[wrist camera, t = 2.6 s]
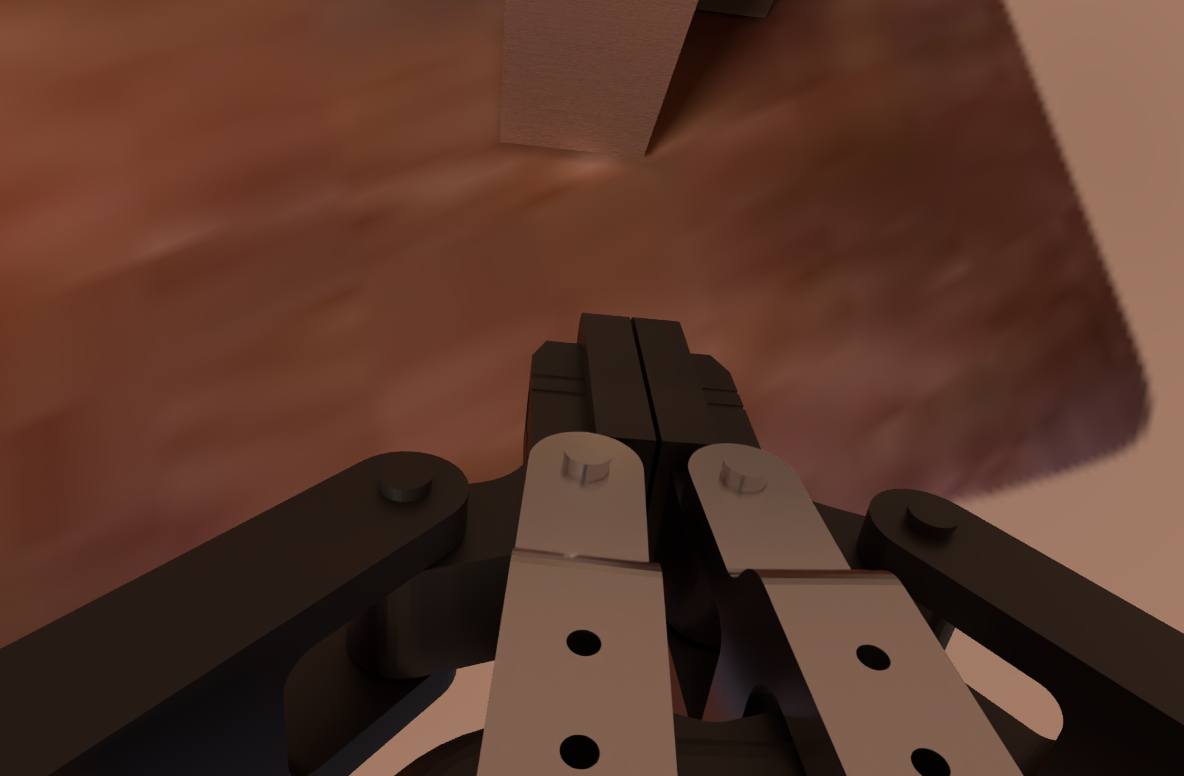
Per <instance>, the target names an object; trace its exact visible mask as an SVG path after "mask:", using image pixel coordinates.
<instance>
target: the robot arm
mask: <svg viewBox="0 0 1184 776" xmlns="http://www.w3.org/2000/svg"><path fill="white" fill-rule="evenodd" d="M955 627H956V628H957V629H959V630H960V631H962V632H963V633H965V634H966V635H968V636H969V637H971V638H972V639H974V640H975V641H977V642H978V643H980V644H981V645H983V646H984V647H986V648H987V649H989V650H990V651H992V652H993V653H995V654H996V655H998V656H999V657H1001V658H1002V659H1004V660H1005V661H1007V662H1008V663H1010V664H1011V665H1013V666H1014V667H1016V668H1017V669H1019V670H1020V671H1022V672H1023V673H1025V674H1026V675H1028V676H1029V677H1031V678H1032V679H1034V680H1035V681H1037V682H1038V683H1040V684H1041V685H1042V686H1044V687H1045V688H1046V689H1047V690H1048V691H1049V692H1050V693H1051V694H1052V695H1053V696H1054V698H1055V699H1056V701H1057V702H1058V704H1059V706H1060V708H1061V711H1062V715H1063V728H1062V730H1061V733H1060V734H1059V736H1058V738H1057V739H1056V740H1051V739H1048V738H1045V737H1043V736H1040V735H1039V734H1037V733H1035V732H1034V731H1032V730H1031V729H1029V728H1028V727H1027V726H1025V725H1024V724H1023V723H1021V722H1019V721H1018V720H1017V719H1015V718H1014V717H1013V716H1011V715H1010V714H1008V713H1007V712H1005V711H1004V710H1003V709H1001V708H1000V707H998V706H997V705H996V704H994V703H993V702H991V701H990V700H988V699H987V698H986V697H984V696H983V695H981V694H980V693H978V692H977V691H975V690H974V689H973V688H971V687H970V686H969V685H967V684H966V683H965V682H964V681H963V679H962V678H961V676H960V675H959V673H958V672H957V670H956V668H955V667H954V665H953V664H952V662H951V660H950V659H949V657H948V656H947V654H946V652H945V649H946V647H947V645H948V642H949V640H950V638H951V636H952V633H953V631H954V629H955ZM494 660H495V663H494V669H493V676H492V682H491V689H490V696H489V701H488V708H487V714H486V721H485V727H484V729H481V730H478V731H475V732H472V733H468V734H465V735H462V736H460V737H457V738H455V739H453V740H451V741H449V742H446V743H444V744H441V745H439V746H438V747H436V748H434V749H433V750H431V751H429V752H427V753H426V754H424V755H422V756H421V757H419V758H417V759H416V760H415V761H413V762H412V763H410V764H409V765H408V766H406V767H405V768H404V769H402V770H401V771H400V772H398V773H397V774H396V775H395V776H1184V634H1183V633H1181V632H1180V631H1178V630H1176V629H1174V628H1173V627H1171V626H1169V625H1167V624H1165V623H1164V622H1162V621H1160V620H1158V619H1157V618H1155V617H1153V616H1151V615H1149V614H1148V613H1146V612H1144V611H1143V610H1141V609H1139V608H1137V607H1136V606H1134V605H1132V604H1130V603H1129V602H1127V601H1125V600H1123V599H1122V598H1120V597H1118V596H1116V595H1115V594H1112V593H1111V592H1109V591H1107V590H1106V589H1104V588H1102V587H1101V586H1099V585H1097V584H1095V583H1093V582H1092V581H1090V580H1088V579H1086V578H1085V577H1083V576H1081V575H1079V574H1078V573H1076V572H1074V571H1072V570H1071V569H1069V568H1067V567H1065V566H1064V565H1062V564H1060V563H1058V562H1056V561H1055V560H1053V559H1051V558H1050V557H1048V556H1046V555H1044V554H1043V553H1041V552H1039V551H1037V550H1036V549H1034V548H1032V547H1030V546H1028V545H1027V544H1025V543H1023V542H1021V541H1020V540H1018V539H1016V538H1014V537H1013V536H1011V535H1009V534H1007V533H1006V532H1004V531H1002V530H1000V529H999V528H997V527H995V526H993V525H992V524H990V523H988V522H986V521H985V520H983V519H981V518H979V517H978V516H976V515H974V514H972V513H971V512H969V511H967V510H965V509H964V508H962V507H960V506H958V505H956V504H954V503H953V502H951V501H949V500H946V499H944V498H942V497H939V496H936V495H933V494H930V493H926V492H922V491H918V490H911V489H892V490H887V491H884V492H881V493H879V494H877V495H876V496H875V497H874V498H873V499H872V500H871V502H870V505H869V508H868V511H867V513H866V516H862V515H858V514H855V513H851V512H847V511H844V510H840V509H836V508H833V507H829V506H826V505H822V504H819V503H816V502H814V501H812V500H811V498H810V497H809V495H808V493H807V491H806V490H805V488H804V486H803V484H802V483H801V481H800V479H799V477H798V476H797V474H796V473H795V472H794V470H793V469H792V468H791V467H790V466H789V465H788V464H786V463H785V462H784V461H783V460H781V459H779V458H778V457H776V456H774V455H772V454H770V453H768V452H766V451H763V450H761V448H760V446H759V443H758V441H757V438H756V436H755V433H754V431H753V428H752V426H751V423H750V421H749V418H748V416H747V414H746V411H745V410H743V404H742V401H741V399H740V396H739V394H737V389H736V386H735V384H734V381H733V379H732V377H731V374H730V372H729V371H728V370H727V369H725V368H724V367H723V366H722V365H721V364H720V363H718V362H717V361H716V360H715V359H714V358H713V357H712V356H710V355H703V354H691V353H690V351H689V348H688V345H687V342H686V339H685V336H684V333H683V330H682V327H681V325H680V323H679V322H677V321H667V320H656V319H645V318H634V317H632V318H631V320H630V318H629V317H622V316H611V315H600V314H589V313H582V315H581V318H580V324H579V330H578V338H577V344H576V343H565V342H554V341H546V342H545V343H544V344H543V345H542V346H541V347H540V348H539V349H538V350H537V351H536V352H535V353H534V354H533V355H532V363H531V373H530V383H529V393H528V402H527V412H526V422H525V432H524V446H523V465H522V466H521V467H520V468H518V469H517V470H516V471H514V472H512V473H511V474H508V475H506V476H504V477H501V478H498V479H495V480H491V481H486V482H480V483H473V484H468V481H467V478H466V476H465V475H464V474H463V472H462V471H461V470H460V469H459V468H458V467H457V466H455V465H454V464H452V463H451V462H449V461H447V460H445V459H443V458H440V457H437V456H434V455H431V454H426V453H421V452H404V451H401V452H390V453H385V454H380V455H376V456H373V457H370V458H368V459H365V460H363V461H361V462H359V463H357V464H355V465H353V466H351V467H350V468H348V469H346V470H344V471H342V472H340V473H338V474H336V475H334V476H332V477H330V478H328V479H326V480H325V481H323V482H321V483H319V484H317V485H315V486H313V487H311V488H309V489H307V490H305V491H303V492H301V493H300V494H298V495H296V496H294V497H292V498H290V499H288V500H286V501H284V502H282V503H280V504H278V505H276V506H275V507H273V508H271V509H269V510H267V511H265V512H263V513H261V514H259V515H257V516H255V517H253V518H251V519H250V520H248V521H246V522H244V523H242V524H240V525H238V526H236V527H234V528H232V529H230V530H228V531H227V532H225V533H223V534H221V535H219V536H217V537H215V538H213V539H211V540H209V541H207V542H205V543H203V544H202V545H200V546H198V547H196V548H194V549H192V550H190V551H188V552H186V553H184V554H182V555H180V556H178V557H177V558H175V559H173V560H171V561H169V562H167V563H165V564H163V565H161V566H159V567H157V568H155V569H153V570H152V571H150V572H148V573H146V574H144V575H142V576H140V577H138V578H136V579H134V580H132V581H130V582H128V583H127V584H125V585H123V586H121V587H119V588H117V589H115V590H113V591H111V592H109V593H107V594H105V595H103V596H102V597H100V598H98V599H96V600H94V601H92V602H90V603H88V604H86V605H84V606H82V607H80V608H78V609H77V610H75V611H73V612H71V613H69V614H67V615H65V616H63V617H61V618H59V619H57V620H55V621H53V622H52V623H50V624H48V625H46V626H44V627H42V628H40V629H38V630H36V631H34V632H32V633H30V634H28V635H27V636H25V637H23V638H21V639H19V640H17V641H15V642H13V643H11V644H9V645H7V646H5V647H4V648H2V649H0V776H349V775H350V774H351V773H352V772H353V771H355V770H356V769H357V768H358V767H359V766H360V765H361V764H362V763H364V762H365V761H366V760H367V759H368V758H370V757H371V756H372V755H373V754H374V753H375V752H377V751H378V750H379V749H380V748H381V747H382V746H383V745H385V743H387V742H388V741H389V740H390V739H392V738H393V737H394V736H395V735H396V734H397V733H399V732H400V731H401V730H402V729H403V728H404V727H405V726H407V725H408V724H409V723H410V722H411V721H412V720H413V719H415V718H416V717H417V716H418V715H419V714H420V713H421V712H423V711H424V710H425V709H426V708H427V707H428V706H430V705H431V704H432V703H433V702H434V701H436V700H437V699H438V698H439V697H440V696H441V695H442V694H443V693H444V692H445V691H446V690H447V689H448V688H449V686H450V685H451V684H452V682H453V680H454V677H455V675H456V669H458V668H463V667H467V666H471V665H476V664H480V663H485V662H489V661H494Z"/></svg>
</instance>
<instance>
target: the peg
mask: <svg viewBox="0 0 1184 776" xmlns="http://www.w3.org/2000/svg"><path fill="white" fill-rule="evenodd" d="M697 3H698V0H505V23H504V47H503V71H502V94H501V118H500V141H499V142H505V143H514V144H523V145H533V146H542V147H551V148H560V149H569V150H578V151H587V152H596V153H605V154H614V155H623V156H632V157H641V158H643V157H644V155H645V152H646V149H647V146H648V143H649V140H650V137H651V135H652V132H653V129H654V126H655V123H656V120H657V117H658V115H659V112H660V109H661V106H662V103H663V100H664V97H665V94H666V92H667V89H668V86H669V83H670V80H671V77H672V74H673V72H674V69H675V66H676V63H677V60H678V57H679V54H680V52H681V49H682V46H683V43H684V40H685V37H686V34H687V32H688V29H689V26H690V23H691V20H692V17H693V14H694V12H695V9H696V6H697Z"/></svg>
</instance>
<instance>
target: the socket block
mask: <svg viewBox="0 0 1184 776" xmlns="http://www.w3.org/2000/svg"><path fill="white" fill-rule="evenodd" d="M773 1H774V0H698V3H697V6H696V9H698V10H705V11H713V12H721V13H728V14H736V15H743V16H751V17H759V18H766V16H767V14H768V12H769V10H770V7H771V5H772V3H773Z"/></svg>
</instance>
